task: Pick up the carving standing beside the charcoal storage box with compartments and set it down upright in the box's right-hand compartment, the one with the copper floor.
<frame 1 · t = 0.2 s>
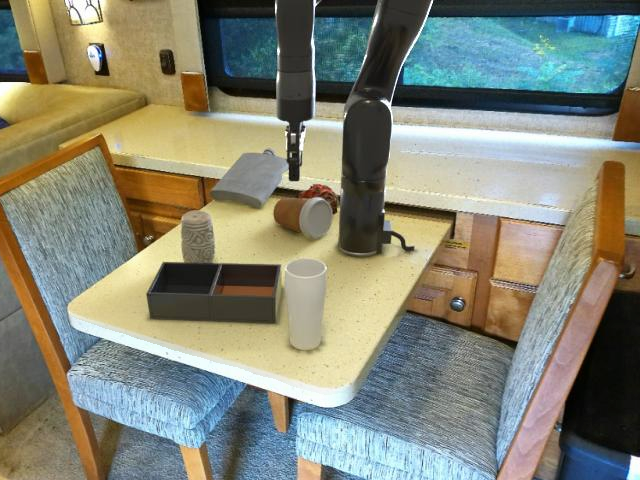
hand: (295, 173, 124), 17 cm above the table, tool pointing down, fingers open, 8 cm apart
carving: (200, 267, 129), on the table
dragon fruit: (316, 215, 148), on the table
drinking glass: (305, 343, 104), on the table
disposable coffee cup: (282, 211, 143), point 3 cm above the table
hip flask: (234, 198, 155), point 2 cm above the table
storage box with compartments: (217, 303, 116), on the table
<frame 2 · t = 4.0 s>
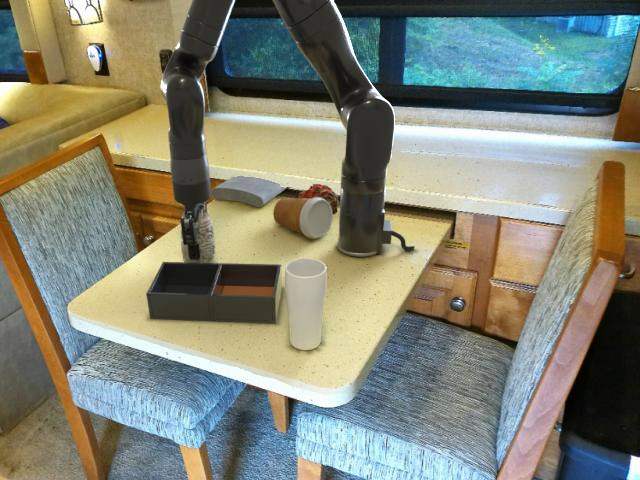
hand: (198, 250, 127), 4 cm above the table, tool pointing down, fingers closed on carving, 6 cm apart
carving: (200, 267, 129), on the table, touching gripper
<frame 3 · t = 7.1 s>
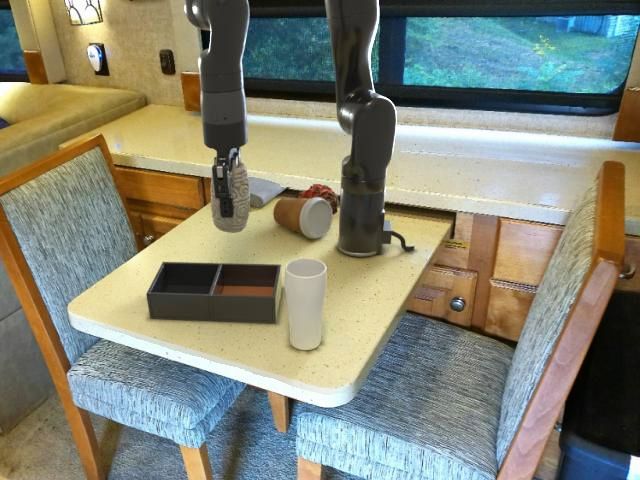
hand: (230, 208, 108), 19 cm above the table, tool pointing down, fingers closed on carving, 6 cm apart
carving: (232, 228, 110), point 15 cm above the table, touching gripper
when the fingers open (5 cm above the table, at t = 10.4 s): carving stays where it is, resting on storage box with compartments.
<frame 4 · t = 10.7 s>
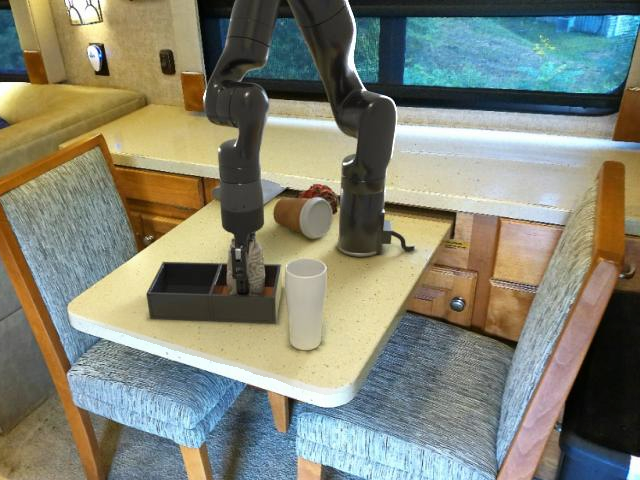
hand: (246, 281, 112), 5 cm above the table, tool pointing down, fingers open, 8 cm apart
carving: (247, 301, 115), point 1 cm above the table, touching storage box with compartments
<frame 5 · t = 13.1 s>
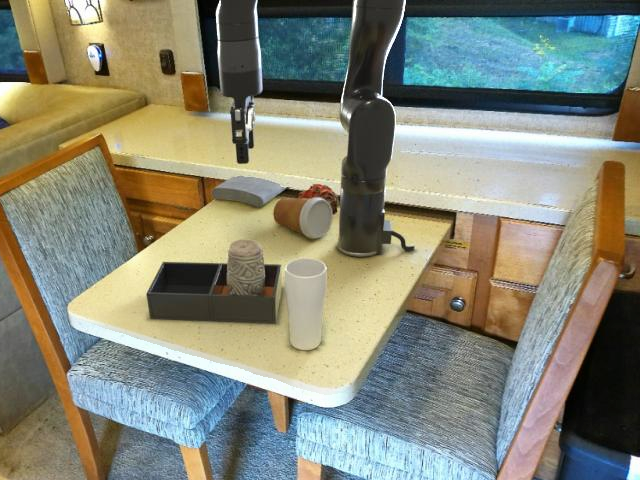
hand: (245, 155, 113), 25 cm above the table, tool pointing down, fingers open, 8 cm apart
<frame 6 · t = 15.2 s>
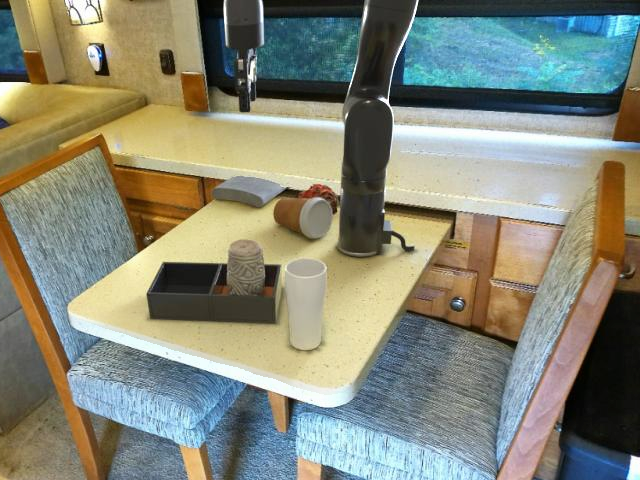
hand: (248, 106, 123), 30 cm above the table, tool pointing down, fingers open, 8 cm apart
at the end: carving inside the target area in the storage box with compartments (0.1 cm from its centre), point 0.6 cm above the storage box with compartments's base; carving tilted 0°; the gripper is holding nothing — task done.
